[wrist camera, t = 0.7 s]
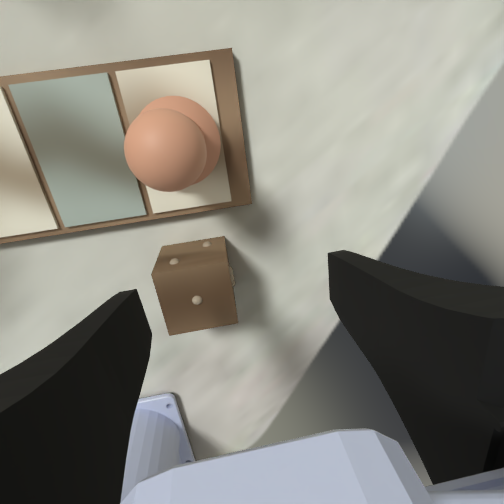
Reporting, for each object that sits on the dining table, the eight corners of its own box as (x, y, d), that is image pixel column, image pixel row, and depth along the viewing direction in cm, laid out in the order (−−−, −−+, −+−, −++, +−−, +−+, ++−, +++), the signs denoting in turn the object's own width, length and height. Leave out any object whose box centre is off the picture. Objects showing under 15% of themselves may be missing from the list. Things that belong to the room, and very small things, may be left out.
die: (236, 288, 21) (242, 324, 18) (176, 298, 21) (168, 338, 17) (226, 232, 20) (230, 259, 16) (161, 243, 19) (149, 273, 16)
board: (250, 201, 19) (252, 204, 18) (-127, 261, 18) (-142, 267, 17) (231, 50, 16) (232, 47, 15) (-234, 108, 14) (-258, 107, 14)
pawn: (226, 177, 17) (235, 208, 11) (148, 189, 17) (114, 228, 11) (212, 91, 16) (214, 72, 10) (125, 102, 15) (69, 90, 9)
